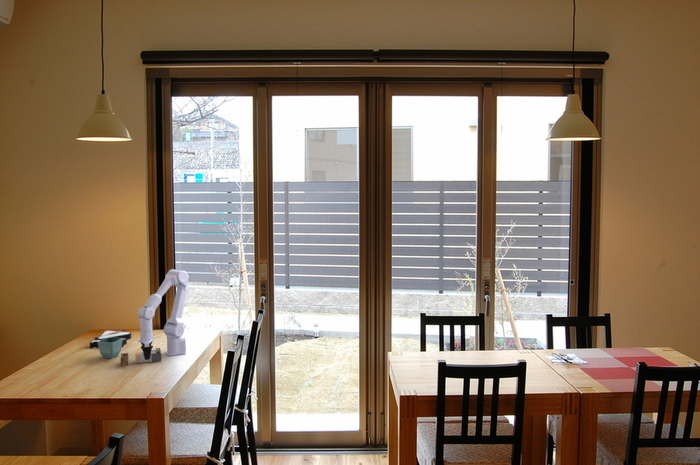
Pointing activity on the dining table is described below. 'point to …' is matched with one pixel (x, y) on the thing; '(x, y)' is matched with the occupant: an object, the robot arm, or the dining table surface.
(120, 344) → the flower pot
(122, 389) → the dining table surface
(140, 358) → the tube
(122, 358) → the socket
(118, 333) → the decorative sign
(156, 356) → the sleeve
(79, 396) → the dining table surface
